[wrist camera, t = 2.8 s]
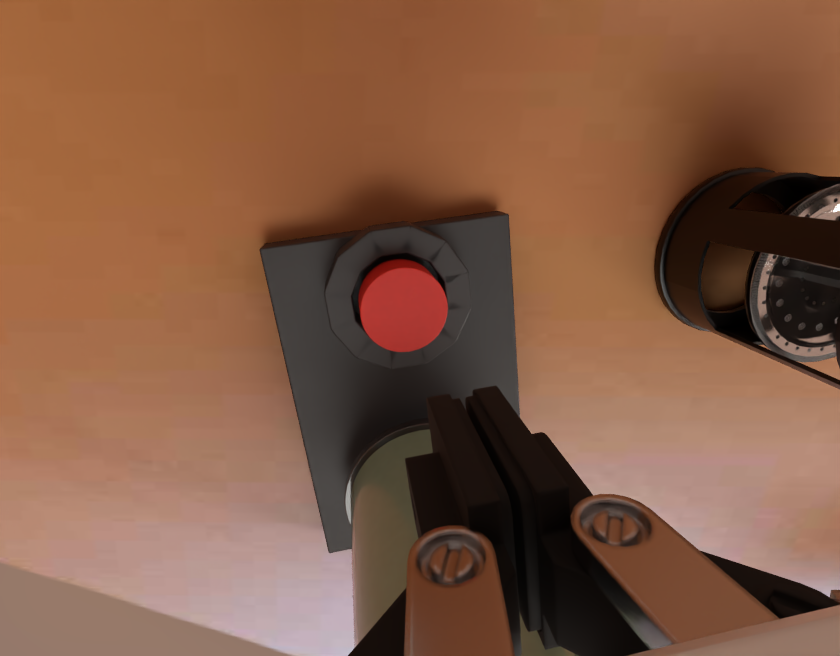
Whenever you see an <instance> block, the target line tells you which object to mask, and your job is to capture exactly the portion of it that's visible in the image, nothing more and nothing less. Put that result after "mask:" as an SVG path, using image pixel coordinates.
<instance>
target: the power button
mask: <svg viewBox="0 0 840 656" xmlns="http://www.w3.org/2000/svg"><path fill="white" fill-rule="evenodd" d="M358 302H359V310H360V318H361V322H362V325H363V328H364V330H365V331H366V333H367V335H368V336H369V337H370V338H371V339H372V340H373V341H374V342H375V343H376V344H378V345H379V346H381V347H383V348H385V349H387V350H391V351H396V352H410V351H414V350H417V349H420V348H422V347H424V346H426V345H427V344H429V343H430V342H432V341H433V340H434V339H435V338H436V337H437V336H438V335H439V333H440V332H441V330H442V328H443V326H444V324H445V321H446V318H447V312H448V304H447V298H446V295H445V292H444V290H443V288H442V287H441V285H440V284H439V282H438V281H437V280H436V279H435V278H434V276H433V275H432V274H431V273H430V272H429V271H428V270H427V269H426V268H425V267H424V266H422V265H421V264H419V263H417V262H415V261H412V260H408V259H392V260H388V261H385V262H383V263H381V264H379V265H377V266H376V267H374V268H373V269H372V270H371V271H370V272H369V273H368V274H367V275H366V277H365V278H364V280H363V282H362V284H361V287H360V290H359V296H358Z"/></svg>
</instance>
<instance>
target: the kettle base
mask: <svg viewBox="0 0 840 656" xmlns="http://www.w3.org/2000/svg"><path fill="white" fill-rule="evenodd" d="M260 254H261V258H262V262H263V267H264V271H265V276H266V280H267V284H268V289H269V293H270V297H271V302H272V306H273V311H274V315H275V319H276V324H277V328H278V332H279V337H280V341H281V346H282V350H283V354H284V359H285V363H286V367H287V372H288V376H289V381H290V385H291V389H292V394H293V398H294V402H295V407H296V411H297V416H298V420H299V424H300V429H301V433H302V437H303V442H304V446H305V450H306V455H307V459H308V464H309V468H310V472H311V477H312V481H313V485H314V490H315V494H316V499H317V503H318V507H319V512H320V516H321V520H322V525H323V529H324V534H325V538H326V542H327V547H328V551H329V553H333V552H337V551H342V550H347V549H352V546H351V526H350V524H349V522H348V519H347V516H346V513H345V505H344V489H345V483H346V478H347V475H348V472H349V470H350V468H351V466H352V464H353V462H354V460H355V459H356V457H357V456H358V454H359V453H360V452H361V451H362V449H363V448H364V447H365V446H366V445H367V444H368V443H369V442H370V441H372V440H373V439H374V438H375V437H376V436H378V435H379V434H381V433H382V432H384V431H386V430H388V429H390V428H392V427H394V426H396V425H398V424H401V423H404V422H407V421H411V420H415V419H422V418H428V411H427V402H426V398H428V397H434V396H439V395H445V394H450V395H451V398H452V399H457V398H460V400H461V402H462V404H463V406H464V408H465V410H466V404H465V398H466V397H468V396H472V393H473V389H479V388H485V387H490V386H497V387H498V388H499V389H500V391H501V392H502V394H503V395H504V396H505V398H506V399H507V401H508V402H509V403H510V405H511V406H512V408H513V409H514V410H515V412H516V413H517V415H518V416H519V417H520V409H519V391H518V373H517V355H516V337H515V319H514V302H513V284H512V266H511V248H510V230H509V215H508V214H506V213H503V212H500V211H493V212H486V213H479V214H472V215H465V216H458V217H450V218H443V219H436V220H429V221H422V222H415V223H409V222H405V221H401V222H394V223H387V224H380V225H373V226H369V227H366V228H365V229H364V230H358V231H350V232H343V233H336V234H329V235H322V236H315V237H308V238H300V239H293V240H286V241H279V242H272V243H266V244H264V245H263V246H262V247H261V248H260ZM392 259H408V260H412V261H415V262H417V263H419V264H421V265H422V266H424V267H425V268H426V269H427V270H428V271H429V272H430V273H431V274H432V275H433V276H434V278H435V279H436V280H437V281H438V282H439V284H440V285H441V287H442V288H443V290H444V292H445V295H446V298H447V304H448V312H447V318H446V321H445V324H444V326H443V328H442V330H441V332H440V333H439V335H438V336H437V337H436V338H435V339H434V340H433V341H432V342H430V343H429V344H427V345H426V346H424V347H422V348H420V349H417V350H414V351H410V352H396V351H391V350H387V349H385V348H383V347H381V346H379V345H378V344H376V343H375V342H374V341H373V340H372V339H371V338H370V337H369V336H368V335H367V333H366V331H365V330H364V328H363V325H362V322H361V318H360V310H359V302H358V296H359V290H360V287H361V284H362V282H363V280H364V278H365V277H366V275H367V274H368V273H369V272H370V271H371V270H372V269H373V268H374V267H376V266H377V265H379V264H381V263H383V262H385V261H388V260H392Z"/></svg>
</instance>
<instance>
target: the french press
mask: <svg viewBox="0 0 840 656" xmlns="http://www.w3.org/2000/svg"><path fill="white" fill-rule="evenodd" d="M752 192H754V193H759V194H762V195H764V196H766V197H768V198H770V199H771V200H772V201H773V202H774V203H776V204H777V205H778V207H779V208H780V210H781V211H782V214H774V213H765V212H756V211H747V210H738V209H733V208H734V207H735V206H736V205H737V204H738V203H739V202H740V201H741V200H742V199H743V198H745V197H746V196H748V195H749V194H750V193H752ZM710 242H714V243H719V244H724V245H729V246H733V247H738V248H743V249H748V250H753V251H755V252H754V254H753V256H752V259H751V262H750V265H749V268H748V272H747V278H746V283H745V305H743V306H741V307H739V308H736V309H732V310H728V311H712V310H707V309H706V308H705V306H704V302H703V297H702V292H701V274H702V268H703V262H704V258H705V255H706V252H707V249H708V247H709V244H710ZM655 278H656V283H657V287H658V291H659V294H660V296H661V298H662V300H663V302H664V304H665V306H666V307H667V308H668V310H669V311H670V312H671V313H672V314H673V316H674V317H676V318H677V319H679V320H680V321H681V322H683V323H684V324H686V325H688V326H691V327H693V328H696V329H698V330H703V331H709V332H713V333H715V334H718V335H720V336H722V337H724V338H727V339H729V340H731V341H733V342H735V343H738V344H740V345H742V346H744V347H747V348H749V349H751V350H753V351H756V352H758V353H760V354H762V355H764V356H767V357H769V358H771V359H773V360H776V361H778V362H780V363H782V364H784V365H787V366H789V367H791V368H793V369H796V370H798V371H800V372H802V373H804V374H807V375H809V376H811V377H813V378H816V379H818V380H820V381H822V382H824V383H827V384H829V385H831V386H833V387H836V388H838V389H840V380H838V379H836V378H834V377H831V376H829V375H827V374H824V373H822V372H820V371H817V370H815V369H813V368H810V367H808V366H806V365H803V364H801V363H799V362H814V361H821V360H825V359H829V358H832V357H835V356H837V362H838V364H839V367H840V177H822V176H817V175H813V174H809V173H782V172H775V171H771V170H767V169H763V168H738V169H733V170H729V171H725V172H723V173H721V174H718V175H716V176H714V177H712V178H709V179H708V180H706V181H705V182H703V183H702V184H701V185H699V186H698V187H696V188H695V189H694V190H693V191H692V192H691V193H689V194H688V195H687V196H686V197H685V198H684V199H683V200H682V201H681V203H680V204H679V205H678V207H677V208H676V209H675V211H674V212H673V213H672V215H671V216H670V218H669V220H668V222H667V224H666V226H665V228H664V230H663V232H662V235H661V238H660V241H659V244H658V247H657V254H656V260H655ZM759 345H765V346H766V347H768V348H769V349H770V350H769V349H766V348H764V347H762V346H759ZM771 350H772V351H771ZM796 361H799V362H796Z"/></svg>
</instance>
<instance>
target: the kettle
mask: <svg viewBox="0 0 840 656" xmlns="http://www.w3.org/2000/svg"><path fill="white" fill-rule="evenodd" d="M429 453H433V450H432V442H431V434H430V427H429V419H428V418H422V419H415V420H411V421H407V422H404V423H401V424H398V425H396V426H394V427H392V428H390V429H388V430H386V431H384V432H382V433H381V434H379V435H378V436H376V437H375V438H374V439H373V440H372V441H370V442H369V443H368V444H367V445H366V446H365V447H364V448H363V449H362V451H361V452H360V453H359V454H358V456H357V457H356V459H355V460H354V462H353V464H352V466H351V468H350V470H349V472H348V475H347V478H346V483H345V489H344V505H345V513H346V516H347V519H348V522H349V524H350V526H351V546H352V579H353V613H354V646H355V647H356V646H357V645H358V643H359V642H360V641H361V640H362V639H363V638H364V636H365V635H366V634H367V633H368V632H369V631H370V629H371V628H372V627H373V626H374V625H375V624H376V622H377V621H378V620H379V619H380V618H381V616H382V615H383V614H384V613H385V612H386V611H387V609H388V608H389V607H390V606H391V605H392V604H393V602H394V601H395V600H396V599H397V598H398V597H399V595H400V594H401V593H402V592H403V591H404V590H405V588H406V584H407V560H408V555H409V551H410V549H411V547H412V546H413V544H414V543H415V541H416V540H417V539H418V535H417V530H416V525H415V520H414V514H413V509H412V503H411V497H410V491H409V484H408V478H407V471H406V464H405V458H408V457H413V456H419V455H424V454H429ZM519 613H520V612H519ZM520 627H521V633H520V635H521V649H522V654H521V656H574V653H572V652H570V651H568V650H566V649H564V648H562V647H555V648H551V649H547V650H545V648H544V646H543V644H542V641H541V639H540V636H539V634H538V632H537V630H536V631H532V632H528V631H527V629H526V627H525V625H524V622H523V620H522V617H521V615H520Z"/></svg>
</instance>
